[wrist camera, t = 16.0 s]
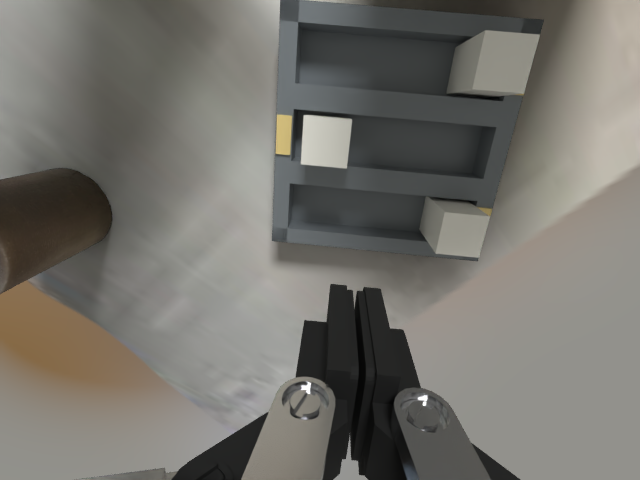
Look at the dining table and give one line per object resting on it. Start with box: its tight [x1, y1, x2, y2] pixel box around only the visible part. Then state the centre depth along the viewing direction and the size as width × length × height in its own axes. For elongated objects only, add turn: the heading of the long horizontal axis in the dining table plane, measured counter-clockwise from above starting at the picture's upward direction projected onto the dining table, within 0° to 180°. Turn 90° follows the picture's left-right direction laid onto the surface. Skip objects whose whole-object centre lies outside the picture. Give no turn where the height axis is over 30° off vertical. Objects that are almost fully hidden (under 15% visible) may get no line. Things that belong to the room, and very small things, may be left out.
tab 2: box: [446, 30, 540, 98], centre depth 29 cm, size 4×4×7 cm
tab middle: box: [301, 115, 352, 169], centre depth 32 cm, size 4×4×7 cm
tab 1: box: [419, 196, 490, 258], centre depth 34 cm, size 4×4×7 cm
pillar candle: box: [0, 168, 112, 294], centre depth 34 cm, size 10×10×15 cm
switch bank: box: [272, 0, 544, 261], centre depth 34 cm, size 22×22×4 cm
